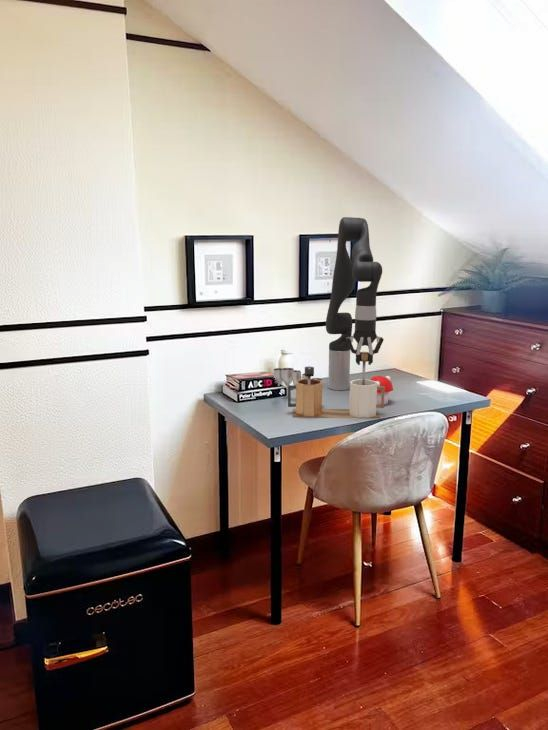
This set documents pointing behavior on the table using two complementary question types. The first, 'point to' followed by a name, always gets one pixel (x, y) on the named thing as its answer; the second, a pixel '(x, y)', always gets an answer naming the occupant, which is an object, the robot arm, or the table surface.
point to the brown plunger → (364, 364)
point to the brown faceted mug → (307, 397)
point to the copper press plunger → (309, 373)
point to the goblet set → (289, 376)
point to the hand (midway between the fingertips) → (364, 364)
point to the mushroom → (386, 383)
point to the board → (333, 414)
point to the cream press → (364, 398)
